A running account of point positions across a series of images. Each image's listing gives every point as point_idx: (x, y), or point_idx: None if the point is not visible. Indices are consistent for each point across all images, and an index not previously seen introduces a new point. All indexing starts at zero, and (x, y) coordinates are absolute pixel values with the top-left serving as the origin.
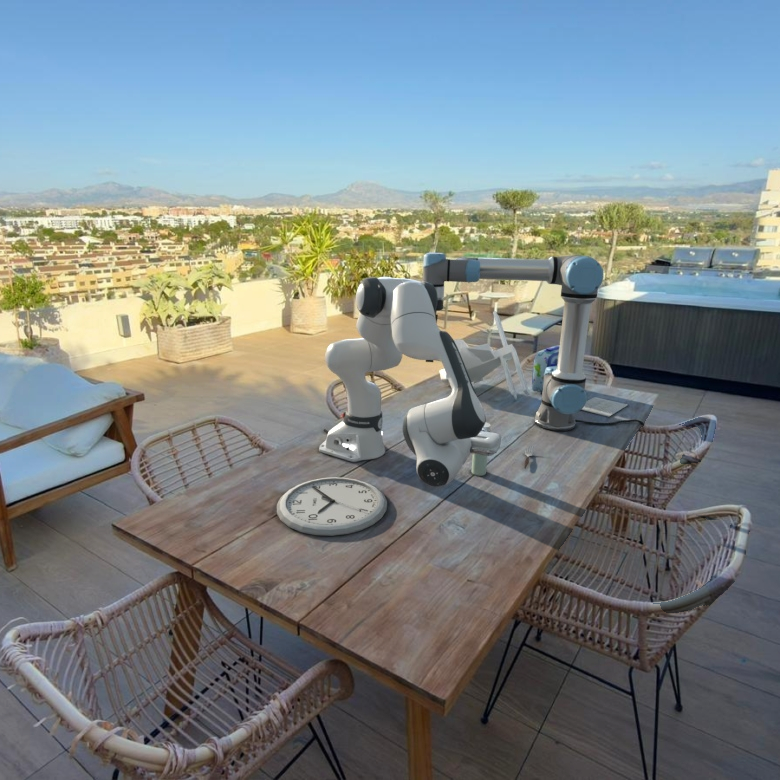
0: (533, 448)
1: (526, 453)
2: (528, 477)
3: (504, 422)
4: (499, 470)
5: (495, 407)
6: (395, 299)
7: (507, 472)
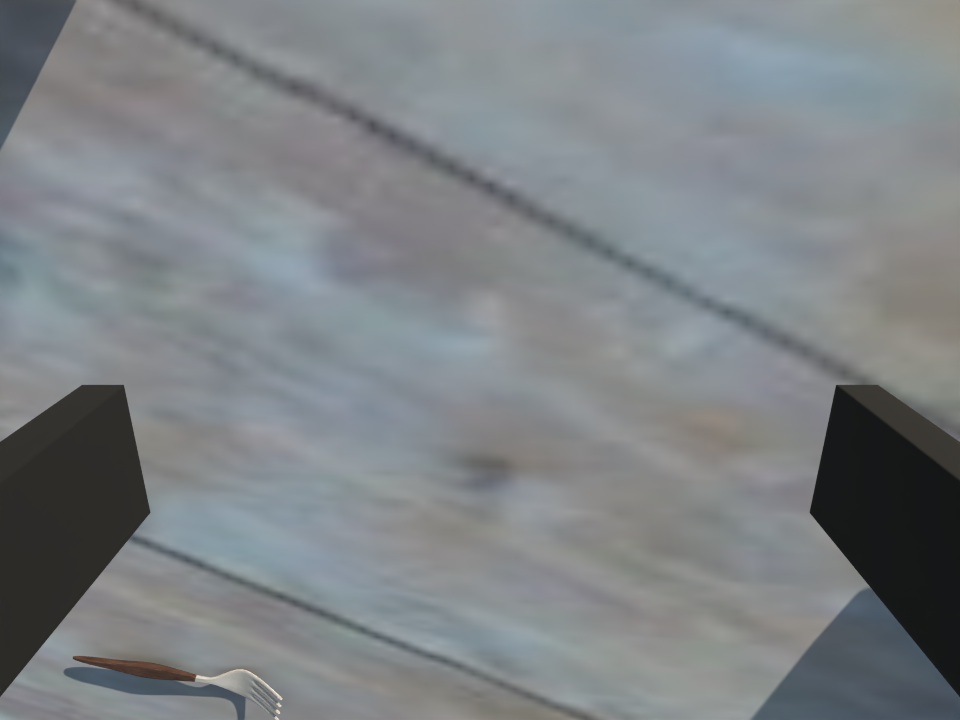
0: (269, 712)
1: (243, 675)
2: None
3: (644, 622)
4: None
5: None
6: None
7: None
